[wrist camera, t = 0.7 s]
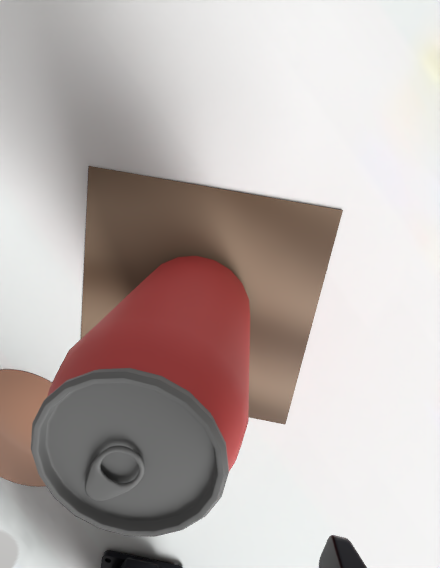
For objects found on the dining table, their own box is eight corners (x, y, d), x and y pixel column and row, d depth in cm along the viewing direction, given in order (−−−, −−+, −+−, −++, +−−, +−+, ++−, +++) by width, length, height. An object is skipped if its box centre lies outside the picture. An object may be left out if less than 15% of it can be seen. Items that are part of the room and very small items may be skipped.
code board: (284, 418, 23) (285, 424, 23) (83, 378, 24) (78, 383, 23) (339, 209, 19) (342, 210, 18) (93, 166, 20) (88, 166, 19)
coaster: (90, 491, 27) (86, 498, 26) (-34, 465, 27) (-40, 471, 27) (97, 381, 24) (93, 386, 23) (-42, 353, 24) (-49, 357, 24)
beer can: (121, 311, 21) (-30, 464, 10) (186, 229, 20) (92, 302, 8) (203, 374, 22) (151, 584, 11) (273, 302, 20) (300, 462, 9)
